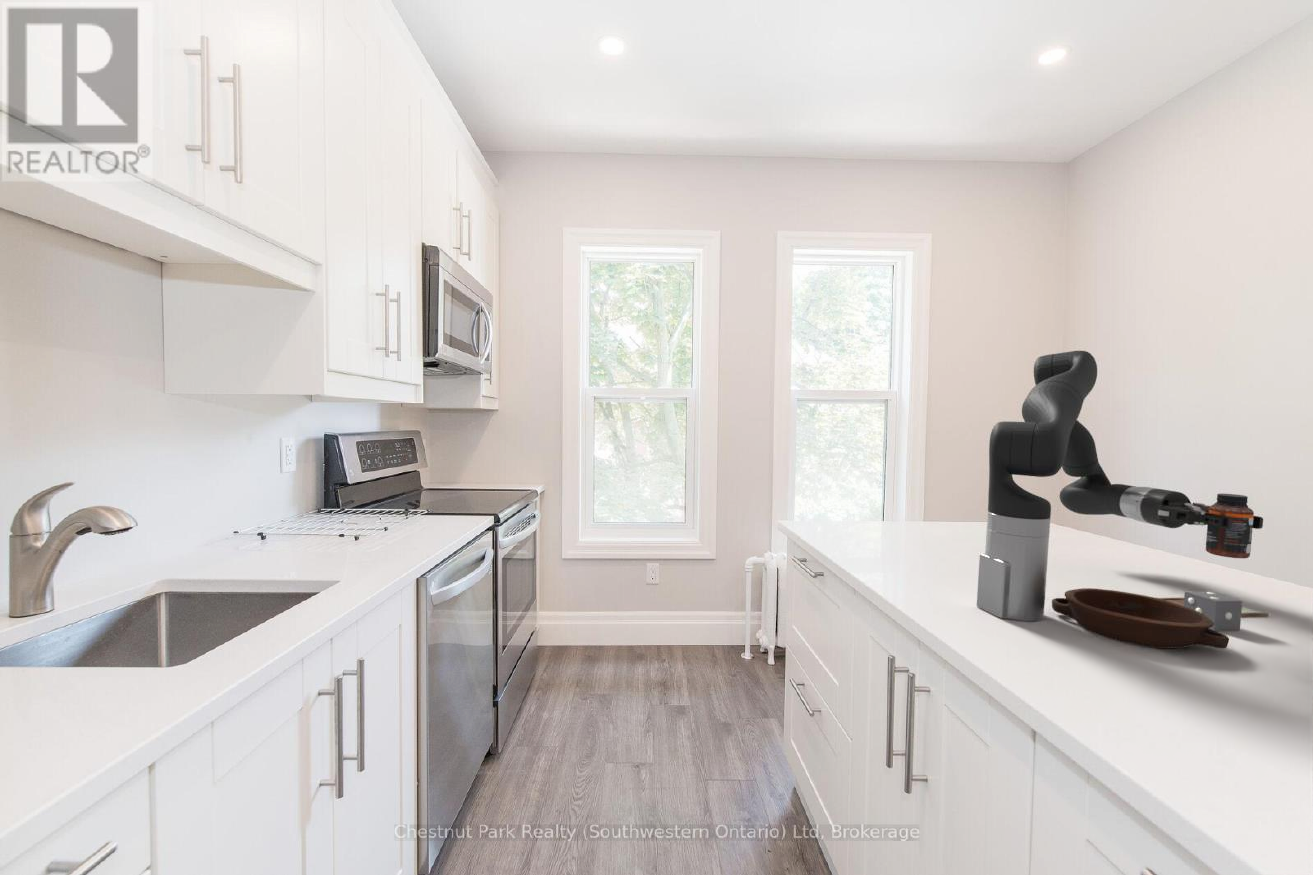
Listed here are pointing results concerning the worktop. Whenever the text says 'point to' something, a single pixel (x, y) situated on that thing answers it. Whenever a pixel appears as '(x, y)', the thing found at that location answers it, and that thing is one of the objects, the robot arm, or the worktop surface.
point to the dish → (1138, 619)
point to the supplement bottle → (1239, 535)
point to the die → (1216, 609)
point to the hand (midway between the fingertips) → (1245, 523)
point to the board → (1244, 611)
